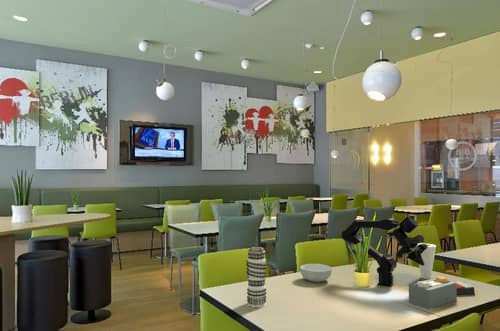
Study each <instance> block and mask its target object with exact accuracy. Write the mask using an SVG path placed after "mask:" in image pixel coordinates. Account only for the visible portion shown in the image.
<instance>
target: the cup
mask: <svg viewBox="0 0 500 331" xmlns="http://www.w3.org/2000/svg"><path fill="white" fill-rule="evenodd" d="M419 244H426V245H427V246H428V248H427V249H426V250H425V251H424V252H423V253H422V254H421V256H422V259H423V262H424V266H422V265H420V264H418V267H419V272H420V277H421V279H425V280H429V279H432V273H433V268H434V267H433V266H434V262H435V256H436V249H437V245H436V244H432V243H425V242H421V243H418V245H419ZM418 245H417V246H418ZM417 246H416V247H417Z"/></svg>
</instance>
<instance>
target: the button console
mask: <svg viewBox="0 0 500 331" xmlns="http://www.w3.org/2000/svg"><path fill="white" fill-rule="evenodd" d="M424 281H425V282H429V283H430V288H426V289H425V288H421V287H417V282H413V283H410V284H408V303H409V304H412V305H415V306H419V307H421V308H424V309H428V310H432V309H435V308H438V307H440V306H443V305H447V304H450V303H453V302H456V301H457V300H458V297H457V296H458V295H457V286H456V282H455V281H452V280H448V283H440V282H436V277H434V278H431V279H425V280H424Z"/></svg>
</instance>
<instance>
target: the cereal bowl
mask: <svg viewBox="0 0 500 331" xmlns="http://www.w3.org/2000/svg"><path fill="white" fill-rule="evenodd" d="M299 271H300V274H301V276H302V278H304V279H305V280H308V281H309V280H310V281H309V282H311V281H313V282H312V283H322V282H323V281H327V280H328V279H329V278H330V277H331V275H332V272H333V269H332V267H331V266H329V265H326V264H323V263H322V264H321V263H306V264H302V265H301V266H300V267H299ZM321 281H322V282H321Z"/></svg>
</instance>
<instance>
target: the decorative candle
mask: <svg viewBox="0 0 500 331" xmlns="http://www.w3.org/2000/svg"><path fill="white" fill-rule="evenodd" d="M266 252H267V251H266V250H265V249H264V247H262V246H252V247H250V248H249V249H248V250H247V260H246V261H245V262H246V263H245V264H246V268H245V269H246V278H247V288H246V294H247V296H246V303H247V304H248V305H249V306H252V307H251V308H254V307H260V308H263V306H264V307H266V306H267V296H266V295H267V292H266V291H267V288H266V279H267V275H266V274H267V271H265V270H267V269H268V267H267V264H268V263H266ZM248 305H247V306H248ZM265 305H266V306H265ZM249 306H248V307H249Z"/></svg>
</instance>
